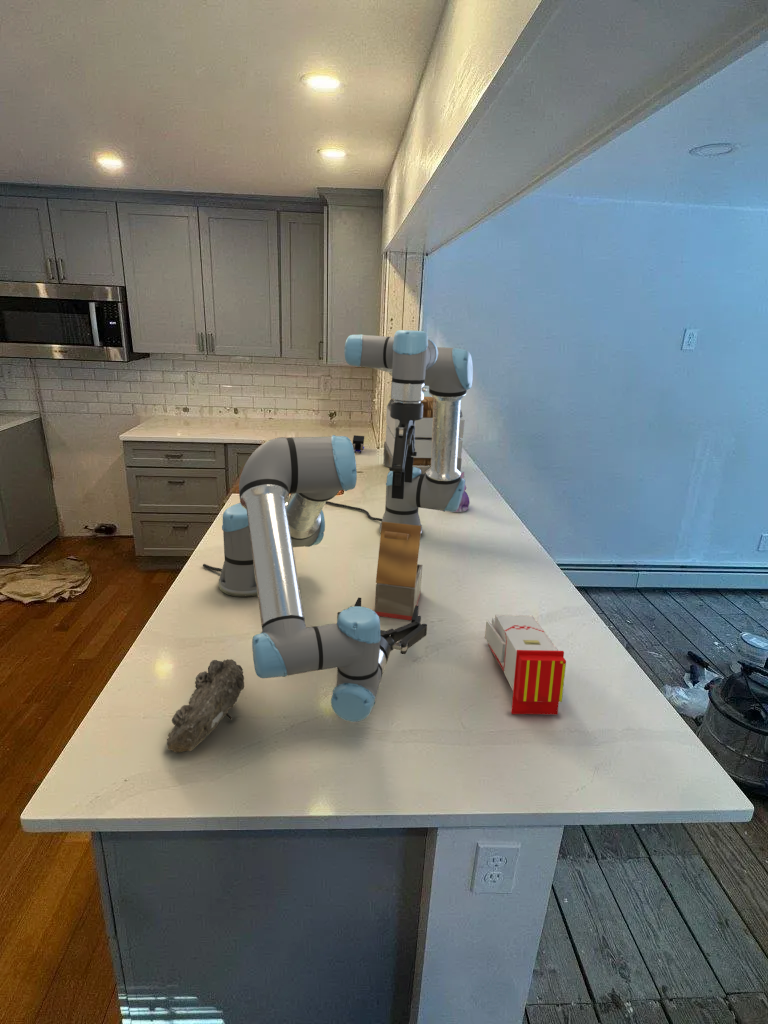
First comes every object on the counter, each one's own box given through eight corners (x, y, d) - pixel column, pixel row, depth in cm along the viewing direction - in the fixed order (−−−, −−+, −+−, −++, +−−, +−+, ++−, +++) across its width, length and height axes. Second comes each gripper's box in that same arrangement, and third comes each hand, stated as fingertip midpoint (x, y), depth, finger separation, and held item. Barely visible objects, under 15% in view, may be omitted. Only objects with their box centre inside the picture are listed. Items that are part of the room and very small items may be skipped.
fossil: (192, 660, 117) (244, 628, 112) (224, 691, 120) (276, 661, 115) (142, 746, 98) (202, 712, 93) (182, 779, 101) (242, 748, 96)
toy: (530, 600, 137) (574, 657, 108) (525, 651, 140) (567, 720, 111) (480, 599, 137) (511, 656, 107) (477, 651, 139) (506, 719, 110)
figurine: (456, 514, 221) (459, 477, 216) (441, 506, 229) (444, 470, 224) (475, 511, 225) (479, 475, 220) (461, 503, 234) (464, 468, 229)
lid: (382, 521, 143) (376, 522, 135) (421, 525, 141) (417, 527, 133) (376, 582, 144) (369, 587, 135) (415, 587, 142) (411, 592, 134)
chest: (385, 589, 160) (386, 560, 157) (420, 593, 159) (422, 564, 156) (374, 615, 146) (375, 584, 143) (412, 620, 145) (414, 589, 142)
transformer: (382, 463, 289) (386, 382, 275) (445, 464, 293) (451, 384, 279) (390, 482, 257) (394, 392, 243) (460, 483, 261) (468, 394, 247)
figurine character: (364, 456, 305) (364, 447, 319) (364, 443, 302) (364, 434, 315) (351, 456, 305) (352, 446, 318) (351, 443, 302) (352, 434, 315)
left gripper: (308, 664, 117) (336, 613, 136) (429, 683, 113) (439, 627, 132) (308, 633, 114) (336, 585, 134) (432, 651, 110) (442, 599, 130)
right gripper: (416, 411, 117) (410, 507, 125) (429, 394, 140) (424, 477, 148) (380, 408, 119) (376, 504, 126) (399, 392, 142) (395, 474, 149)
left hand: (387, 606), depth 133 cm, fingers open, 13 cm apart
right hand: (402, 489), depth 137 cm, fingers open, 13 cm apart
